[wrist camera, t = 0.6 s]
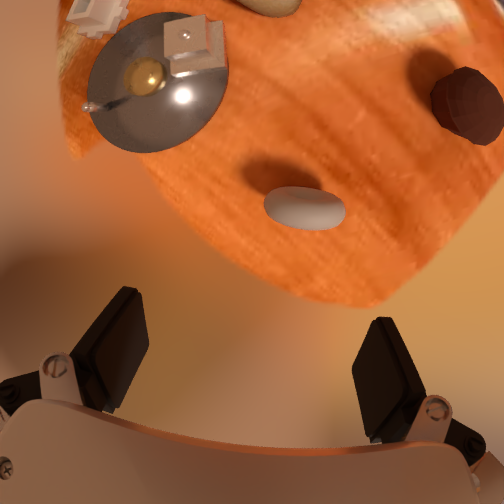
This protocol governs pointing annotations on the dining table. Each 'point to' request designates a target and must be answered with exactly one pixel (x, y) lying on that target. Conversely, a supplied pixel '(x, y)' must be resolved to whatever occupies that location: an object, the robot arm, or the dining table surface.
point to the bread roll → (272, 7)
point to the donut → (304, 208)
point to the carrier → (158, 81)
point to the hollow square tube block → (97, 16)
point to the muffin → (469, 106)
